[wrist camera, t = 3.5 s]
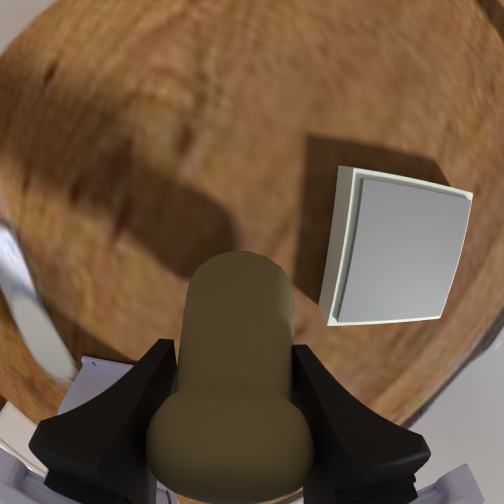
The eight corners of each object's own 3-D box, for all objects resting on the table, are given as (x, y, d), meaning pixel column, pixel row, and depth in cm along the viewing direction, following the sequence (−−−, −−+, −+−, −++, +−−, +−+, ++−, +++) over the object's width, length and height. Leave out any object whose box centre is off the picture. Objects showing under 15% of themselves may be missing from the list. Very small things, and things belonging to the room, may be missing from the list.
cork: (174, 259, 15) (76, 441, 4) (288, 242, 14) (348, 446, 4) (202, 345, 17) (169, 511, 7) (297, 334, 16) (329, 508, 6)
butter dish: (62, 466, 35) (45, 516, 20) (-2, 417, 30) (-28, 464, 15) (87, 459, 31) (66, 526, 16) (6, 397, 26) (-31, 459, 11)
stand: (318, 305, 20) (328, 329, 17) (338, 165, 16) (356, 168, 14) (424, 302, 20) (442, 320, 17) (451, 187, 17) (476, 194, 14)
